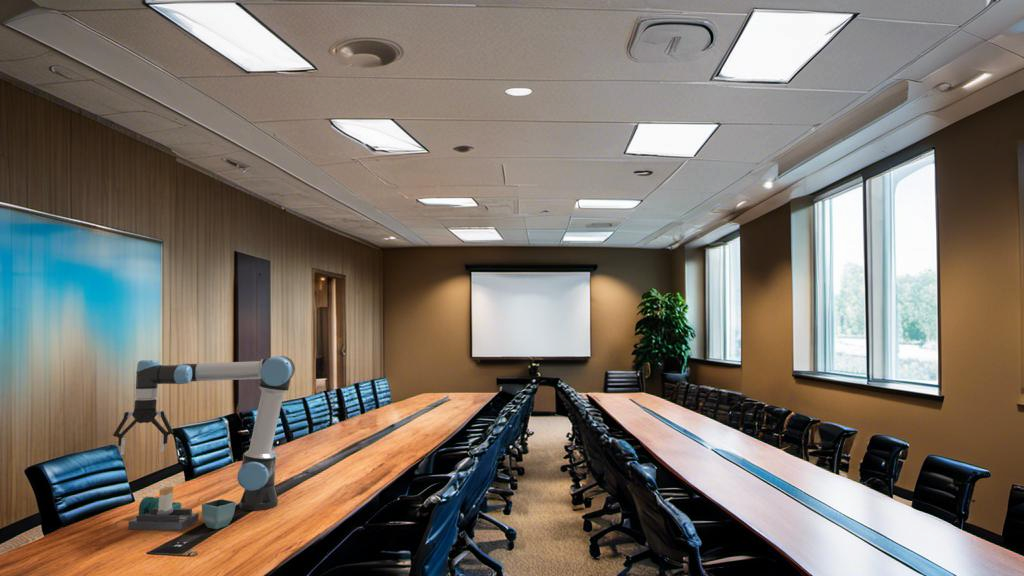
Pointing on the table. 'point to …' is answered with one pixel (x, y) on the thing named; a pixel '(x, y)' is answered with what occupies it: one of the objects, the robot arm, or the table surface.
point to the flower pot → (218, 513)
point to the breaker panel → (164, 523)
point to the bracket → (153, 504)
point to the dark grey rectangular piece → (164, 517)
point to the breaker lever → (165, 501)
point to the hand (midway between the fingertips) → (142, 453)
